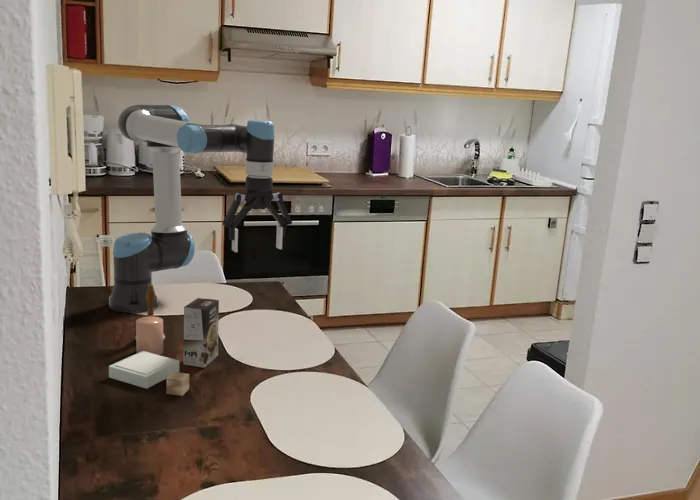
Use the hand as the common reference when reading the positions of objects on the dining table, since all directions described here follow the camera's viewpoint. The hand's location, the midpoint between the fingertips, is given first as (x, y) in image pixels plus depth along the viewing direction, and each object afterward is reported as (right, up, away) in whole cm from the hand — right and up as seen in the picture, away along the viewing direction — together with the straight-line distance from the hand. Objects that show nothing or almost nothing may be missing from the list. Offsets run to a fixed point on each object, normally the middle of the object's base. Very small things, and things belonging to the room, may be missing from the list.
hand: (257, 249), depth 193 cm
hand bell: (-31, -26, 0) cm, 40 cm away
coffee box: (-13, -30, -13) cm, 35 cm away
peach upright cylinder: (-28, -28, -10) cm, 41 cm away
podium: (-25, -31, -24) cm, 47 cm away
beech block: (-15, -34, -32) cm, 49 cm away
